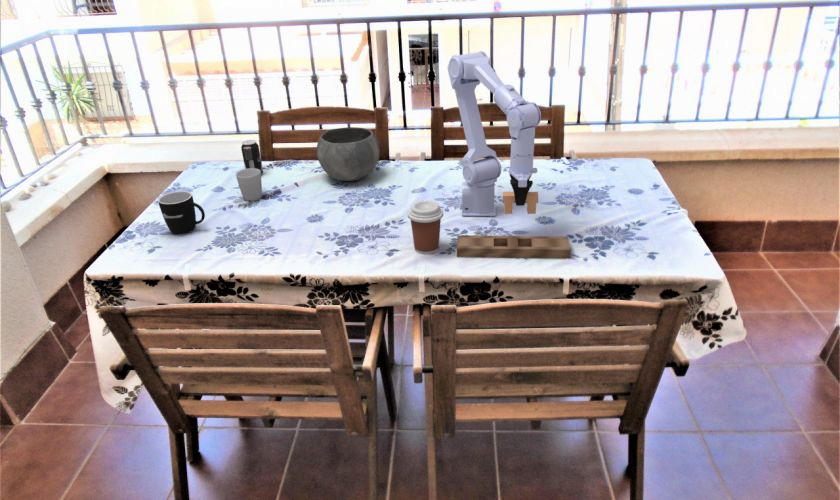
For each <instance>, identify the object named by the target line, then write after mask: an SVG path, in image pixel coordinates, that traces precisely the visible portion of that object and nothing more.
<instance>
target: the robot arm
mask: <svg viewBox="0 0 840 500" xmlns="http://www.w3.org/2000/svg"><path fill="white" fill-rule="evenodd" d="M491 63H492V62H491V57H489V56H488V55H487V53H486V52H485V51H483V50H480V51H477V52H471V53H465V54H459V55H457V54H456V55H455V54H454V55H452V56H451V57H450V59H449V62H448V65H447V72H448V77H449V81H450V85H451V88H452V90H454V94H455V97H456V102H457V105H458V111H459V115H460V120H461V123H462V128H463V132H464V137H465V140H466V145H467V146H466V147H467V150H468V151H467V153H466V154H465V155H464V156H463V157H462V159H461V164H462V176H463V179H464V181H462V184H461V194H462V195H461V200H460V202H461V203H460V204H461V205H460V206H461V210H462V211H461V216H462V217H496V216H497V215H496V204H495V186H496V185H495V184H496V182H497V181H498V178H500V176H501V175H502V164H501V162H500V160H499V159H498V157H497V152H496V151H495V150H493V148H490V147H488V145H487V140H486V137H485V132H484V128H483V127H484V126H483V123H482V118H481V114H480V109H479V106H478V105H479V104H478V101H477V96H476V92H475V90H476V87H478V86H479V84H482V85H483V86H484V87H485V88H486V89H487V90H488V91H489V92H491V93H492V95H493V102H494V103H495V104H496V105H497V107H498V108H500V110H501V111H502V112H503V113H504V114H505V116H506V122H507V124H508V128H509V130H508V131H509V132H508V133H509V136H510V137H511V138H510V159H509V160H510V163H509V169H508V172H509V177H510V179H509V181H510V183H509V184H510V186H511V188H512V190H513V191H512V192H514V195H515V203H514V204H515V206H518V207H519V206H522V207H524V206H525V204H526V203H525V202H526V198H527V194H528V192H530V190H531V188H532V186H533V184H534V182H533V180H530V179H531V178H532V175H533V174H537V173H538V167H534V154H535V138H536V135H535V134H536V127H537V126H539V124H540V123H541V118H542V113H541V109H540V108H539V105H537V103H535V102H530V101H529V100H526V99H525V98H523V96H522V95H521V94H520V93H519V92H518V91H517V90H516V89H515V86H513V85H512V84H504V82H503V81H502V80H501V78H500V77H499V75H498V74H497V72H496V71H495V70H494V69H493V68H492V64H491ZM481 158H482V159H481ZM477 159H479V160H477Z"/></svg>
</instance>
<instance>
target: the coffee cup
mask: <svg viewBox="0 0 840 500" xmlns="http://www.w3.org/2000/svg"><path fill="white" fill-rule="evenodd" d="M443 217H444V210H443V208H442V207H440V205H439V203H437V202H435V201H433V200H419V201H416V202H414V203H413V204H412V205H411V206H410V208H409V210H407V218H408V219H409V220H410V224H411V233H412V238H413V239H412V240H413V247H414V251H415V252H416V253H418V254H422V255H430V254H434V253H437V252H438V251H439V249H440V237H441V236H440V234H441V222H442V221H441V219H442V218H443Z"/></svg>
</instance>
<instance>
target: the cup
mask: <svg viewBox="0 0 840 500" xmlns="http://www.w3.org/2000/svg"><path fill="white" fill-rule="evenodd" d="M235 177H236V180H237V183H238V186H239V190H240V193H241V195H242V199H243V200H244V201H247V202H250V201H249V200H253V201H252V202H255V200H256V201H258V200H260V199H261V198H262V197H263V191H262V187H263V186H262V184H263V182H262V174H261V171H260V170H259V169H255V168H249V169H245V168H244V169H240V170H239V171H237V172H236V173H235Z"/></svg>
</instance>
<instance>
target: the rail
mask: <svg viewBox="0 0 840 500" xmlns="http://www.w3.org/2000/svg"><path fill="white" fill-rule="evenodd" d="M571 252H572V249H571V245H570V240H569V237H568V236H561V235H560V236H551V235H549V236H546V235H463V234H462V235H461V234H460V235H457V242H456V258H496V259H497V258H501V259H502V258H505V259H510V258H511V259H514V258H515V259H566V258H570V259H571Z"/></svg>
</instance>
